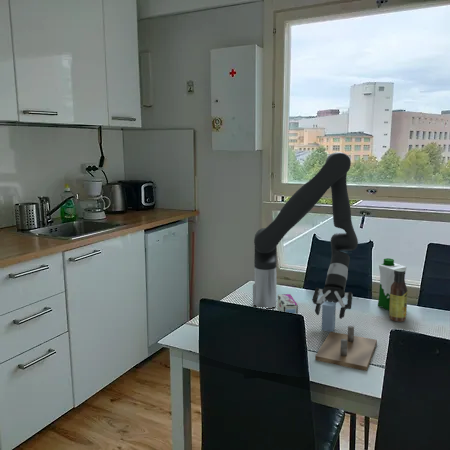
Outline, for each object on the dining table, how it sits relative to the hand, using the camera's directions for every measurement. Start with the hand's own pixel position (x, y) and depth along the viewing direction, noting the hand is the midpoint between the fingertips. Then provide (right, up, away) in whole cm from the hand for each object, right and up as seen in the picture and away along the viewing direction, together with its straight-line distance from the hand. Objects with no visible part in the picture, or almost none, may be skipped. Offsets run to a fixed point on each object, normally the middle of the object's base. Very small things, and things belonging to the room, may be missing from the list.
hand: (328, 316), depth 163 cm
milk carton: (+31, -1, +22) cm, 38 cm away
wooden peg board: (+2, -9, -16) cm, 18 cm away
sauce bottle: (+29, -3, +9) cm, 30 cm away
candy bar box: (-17, -8, -10) cm, 21 cm away
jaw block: (0, -5, +2) cm, 5 cm away
